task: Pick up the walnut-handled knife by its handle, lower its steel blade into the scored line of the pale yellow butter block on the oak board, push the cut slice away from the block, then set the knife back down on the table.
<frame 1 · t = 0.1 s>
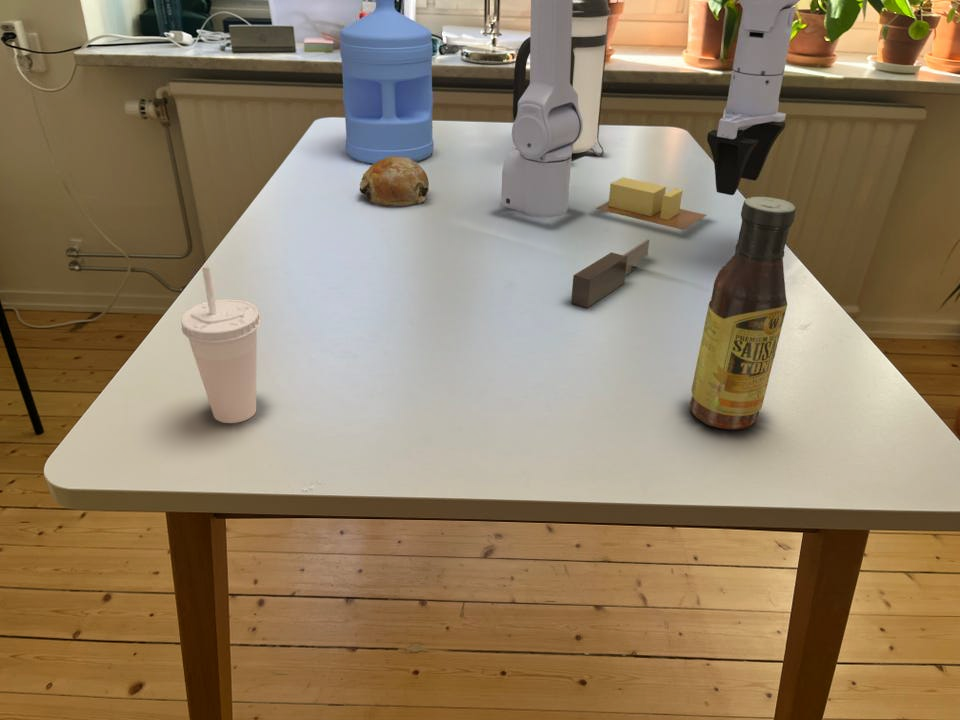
hand: (737, 185, 101), 10 cm above the table, tool pointing down, fingers open, 7 cm apart
bread roll: (394, 198, 126), on the table
water jug: (390, 154, 147), on the table
butter block: (635, 207, 121), point 1 cm above the table, touching cutting board
knife: (598, 292, 97), on the table
sauce bottle: (724, 416, 74), on the table
smoothie: (235, 413, 73), on the table
cutting board: (649, 218, 120), on the table
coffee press: (558, 156, 149), on the table
butter slice: (669, 215, 118), point 1 cm above the table, touching cutting board
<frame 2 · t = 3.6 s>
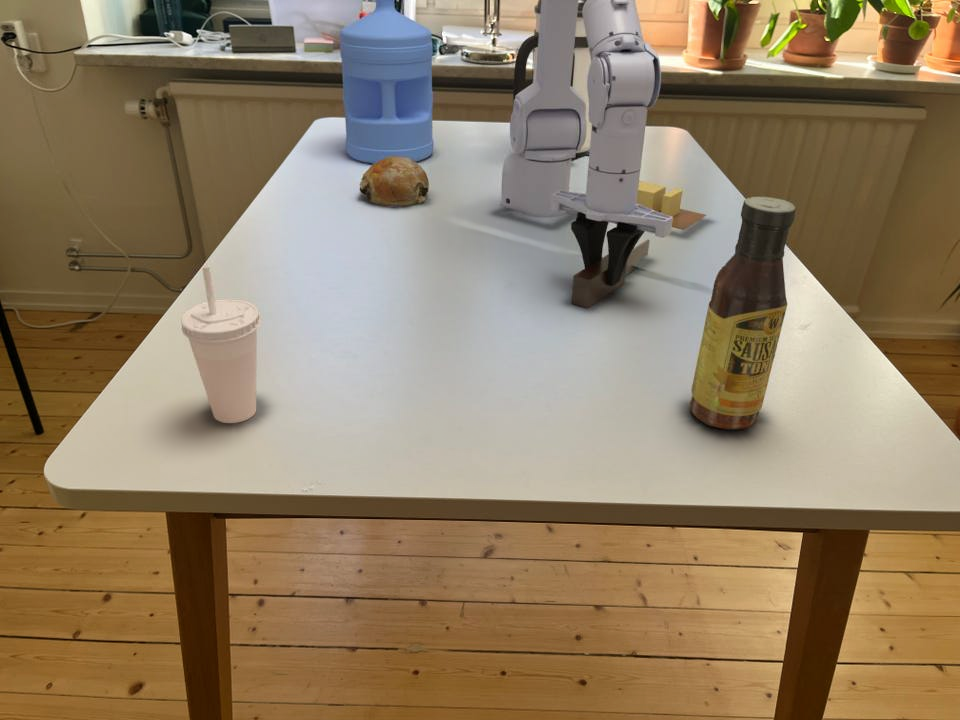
hand: (602, 279, 97), 1 cm above the table, tool pointing down, fingers closed on knife, 2 cm apart
knife: (598, 292, 97), on the table, touching gripper
everything else where it was.
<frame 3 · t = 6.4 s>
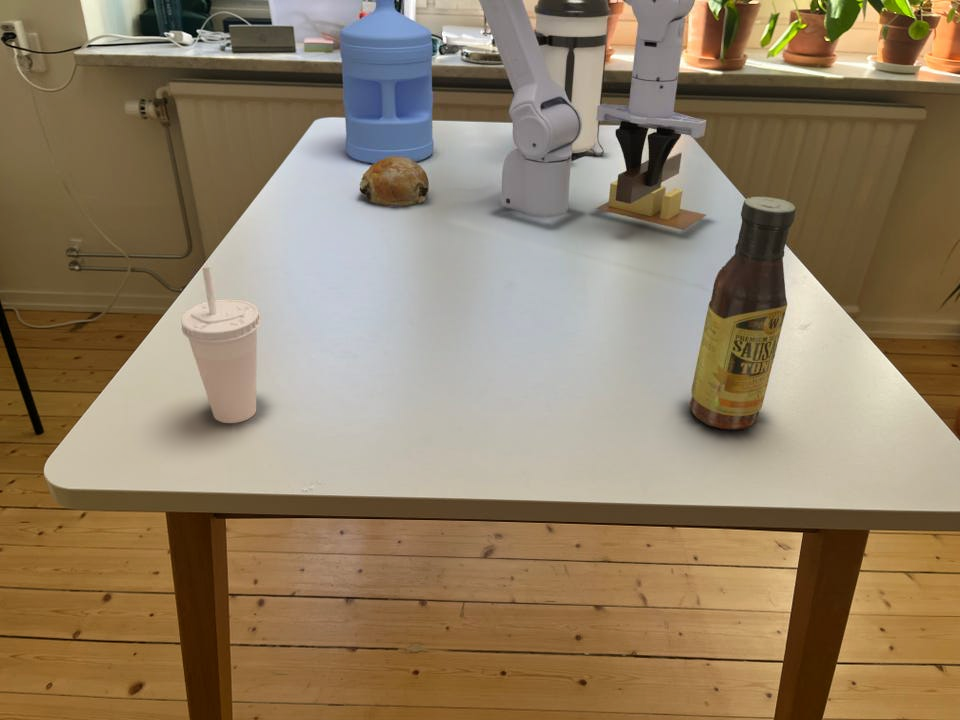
hand: (642, 182, 110), 8 cm above the table, tool pointing down, fingers closed on knife, 2 cm apart
knife: (638, 194, 110), point 6 cm above the table, touching gripper
everything else where it was.
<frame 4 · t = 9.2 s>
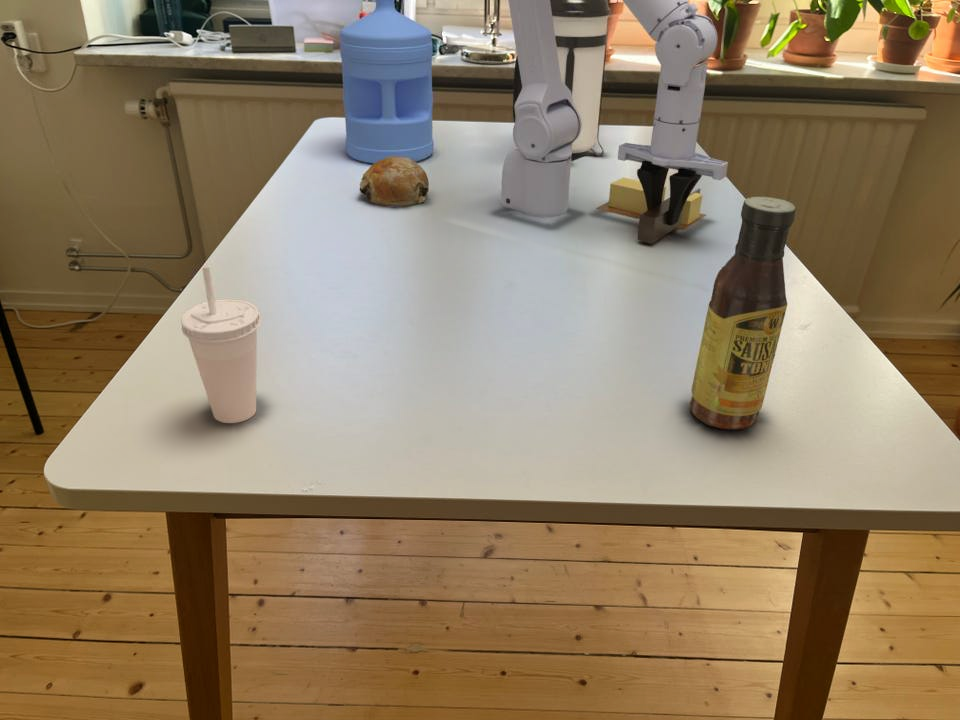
hand: (662, 221, 111), 3 cm above the table, tool pointing down, fingers closed on knife, 2 cm apart
knife: (659, 232, 111), point 1 cm above the table, touching butter slice, gripper
butter slice: (689, 220, 117), point 1 cm above the table, touching cutting board, knife
everything else where it was.
when the fingers open (1 cm above the table, at t = 13.3 s): knife stays where it is, on the table.
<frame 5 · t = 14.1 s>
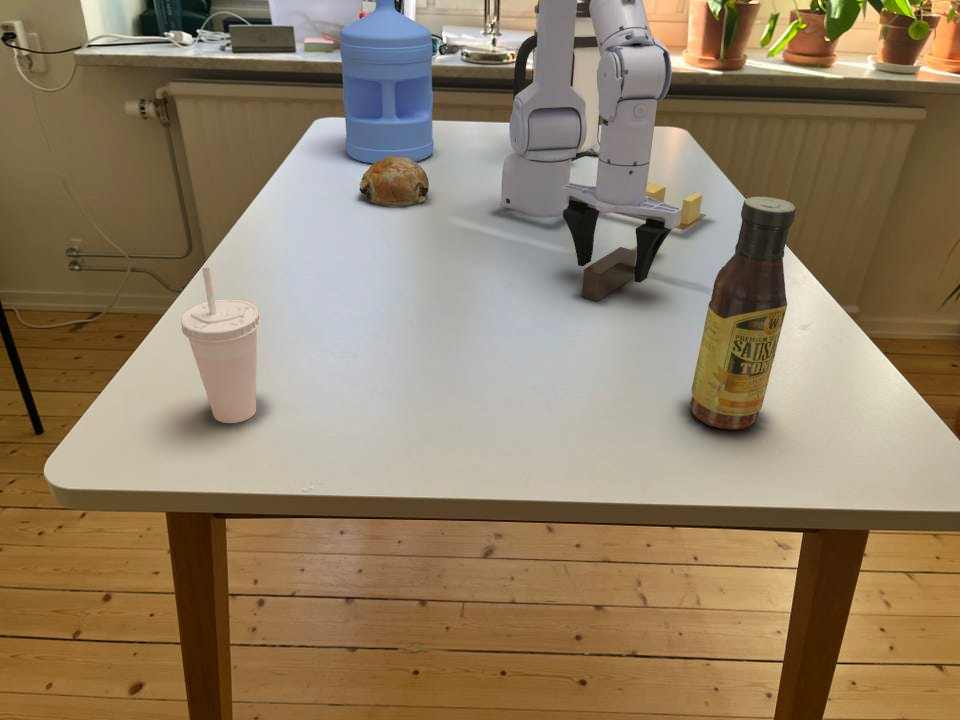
hand: (611, 271, 98), 2 cm above the table, tool pointing down, fingers open, 7 cm apart
knife: (607, 286, 98), on the table
butter slice: (689, 220, 117), point 1 cm above the table, touching cutting board
everything else where it was.
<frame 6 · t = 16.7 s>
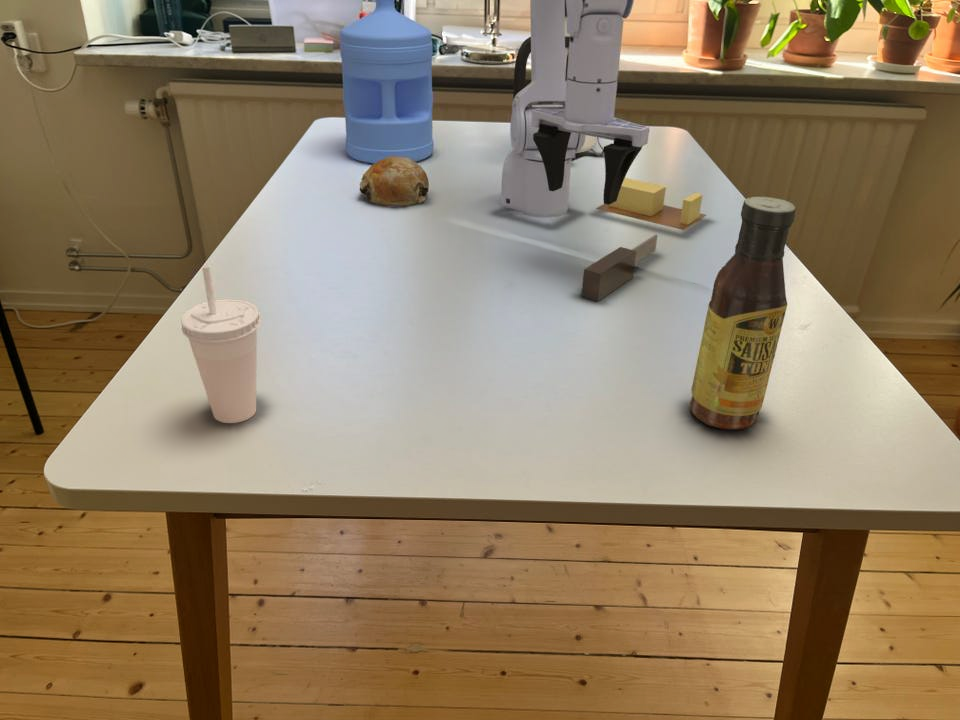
hand: (582, 195, 99), 9 cm above the table, tool pointing down, fingers open, 7 cm apart
nothing on the table moved.
at the end: butter slice moved 3.1 cm from its start; butter block moved 0.0 cm from its start; the gripper is holding nothing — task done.
